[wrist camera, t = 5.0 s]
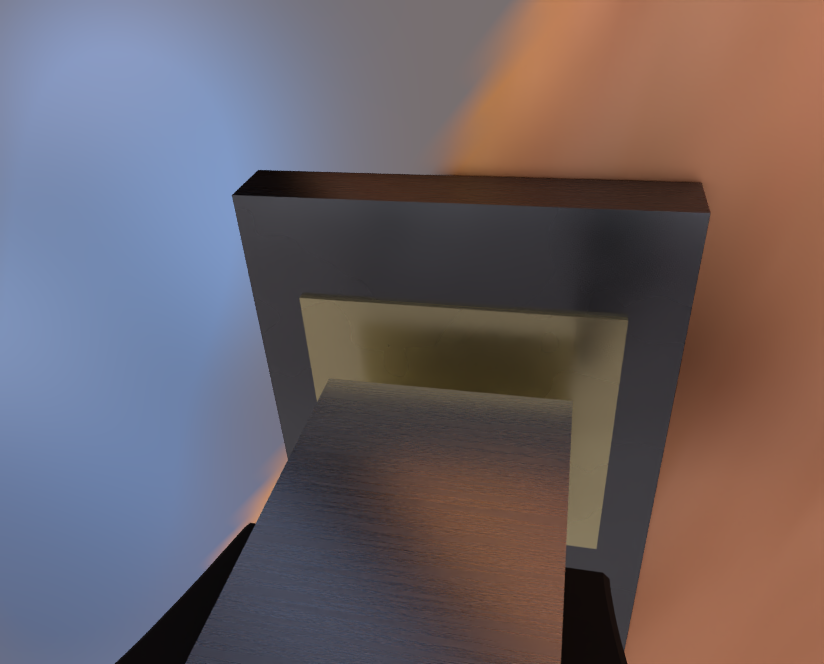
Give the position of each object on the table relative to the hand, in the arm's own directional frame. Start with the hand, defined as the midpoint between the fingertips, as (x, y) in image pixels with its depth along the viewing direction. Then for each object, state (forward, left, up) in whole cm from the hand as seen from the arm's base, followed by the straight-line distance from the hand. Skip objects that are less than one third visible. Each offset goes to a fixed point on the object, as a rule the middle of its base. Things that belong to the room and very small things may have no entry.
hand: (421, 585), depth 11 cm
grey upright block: (0, 0, -3) cm, 3 cm away
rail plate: (0, +6, -5) cm, 8 cm away
